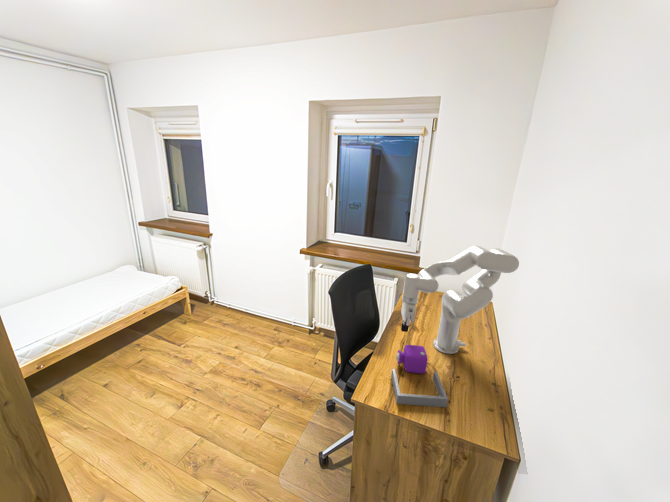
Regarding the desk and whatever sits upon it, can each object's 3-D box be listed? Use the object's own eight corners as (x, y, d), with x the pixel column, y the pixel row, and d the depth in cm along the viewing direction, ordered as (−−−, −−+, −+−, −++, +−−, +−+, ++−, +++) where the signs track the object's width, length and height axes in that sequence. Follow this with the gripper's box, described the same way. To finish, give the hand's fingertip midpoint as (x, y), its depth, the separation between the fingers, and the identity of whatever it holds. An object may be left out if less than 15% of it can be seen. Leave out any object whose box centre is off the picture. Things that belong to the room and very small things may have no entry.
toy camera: (392, 359, 138) (394, 342, 135) (420, 359, 139) (422, 341, 136) (399, 375, 127) (401, 357, 124) (428, 375, 128) (431, 356, 126)
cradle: (435, 379, 126) (436, 371, 125) (446, 407, 111) (448, 399, 110) (391, 376, 127) (392, 368, 125) (396, 403, 112) (397, 395, 111)
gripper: (421, 306, 133) (414, 340, 138) (414, 292, 147) (408, 323, 153) (404, 304, 133) (399, 338, 138) (399, 291, 147) (394, 322, 153)
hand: (404, 330), depth 146 cm, fingers closed
